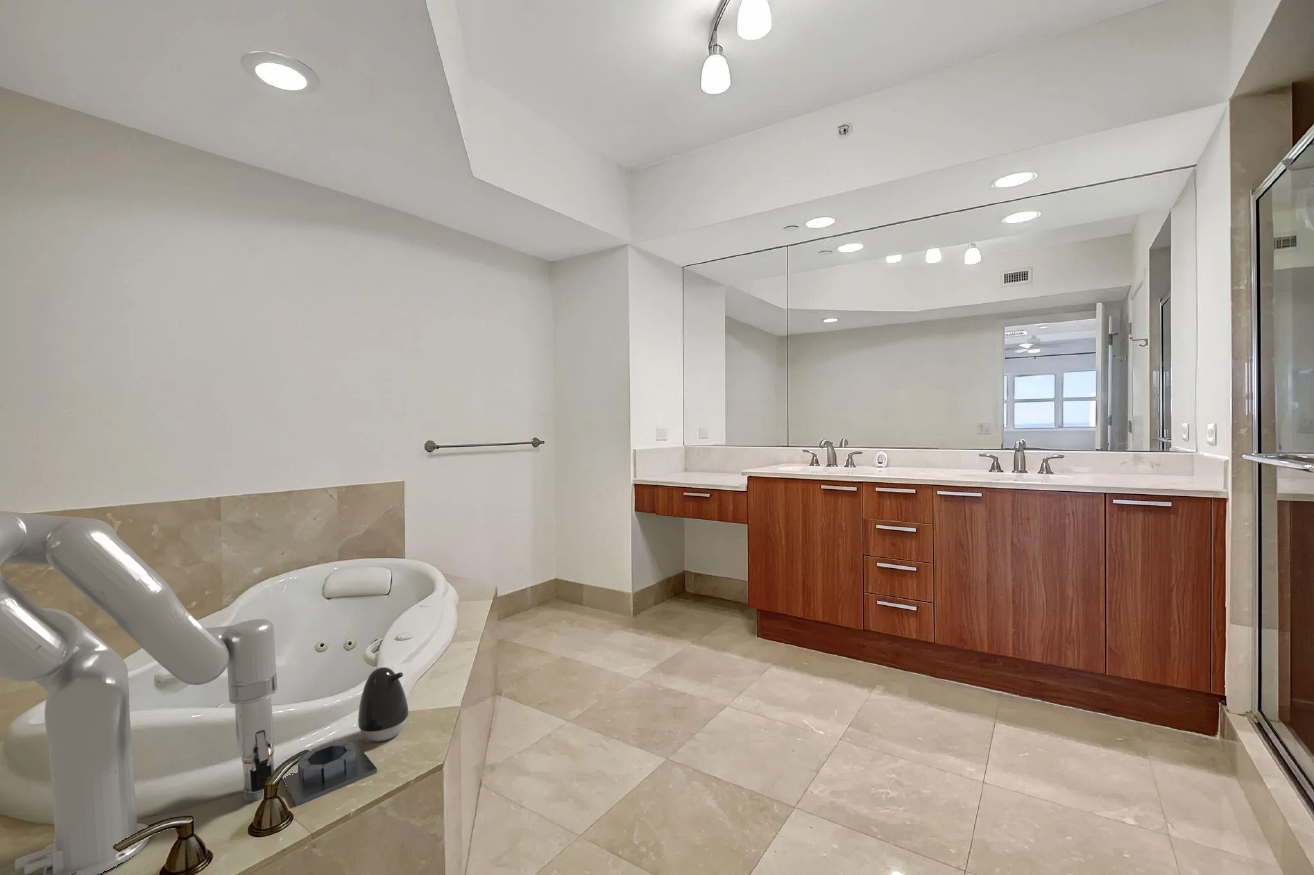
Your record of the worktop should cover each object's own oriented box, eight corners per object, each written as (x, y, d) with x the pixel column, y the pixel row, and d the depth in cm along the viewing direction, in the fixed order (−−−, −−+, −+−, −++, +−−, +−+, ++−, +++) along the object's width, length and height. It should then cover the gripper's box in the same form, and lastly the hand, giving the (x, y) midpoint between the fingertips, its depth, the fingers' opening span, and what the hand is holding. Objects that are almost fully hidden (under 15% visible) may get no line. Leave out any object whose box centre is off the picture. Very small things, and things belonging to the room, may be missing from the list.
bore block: (295, 806, 105) (294, 785, 105) (280, 775, 115) (279, 756, 115) (377, 772, 114) (375, 753, 114) (356, 746, 125) (355, 728, 125)
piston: (245, 805, 106) (243, 756, 106) (242, 793, 110) (239, 746, 109) (277, 792, 109) (275, 746, 109) (273, 781, 113) (270, 736, 113)
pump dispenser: (390, 749, 123) (386, 679, 122) (348, 746, 125) (344, 677, 124) (419, 724, 133) (415, 659, 132) (380, 722, 135) (376, 658, 134)
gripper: (223, 681, 113) (228, 772, 113) (235, 709, 100) (242, 811, 101) (268, 668, 118) (274, 756, 118) (285, 693, 105) (291, 791, 106)
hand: (259, 780), depth 109 cm, fingers closed on piston, 4 cm apart
